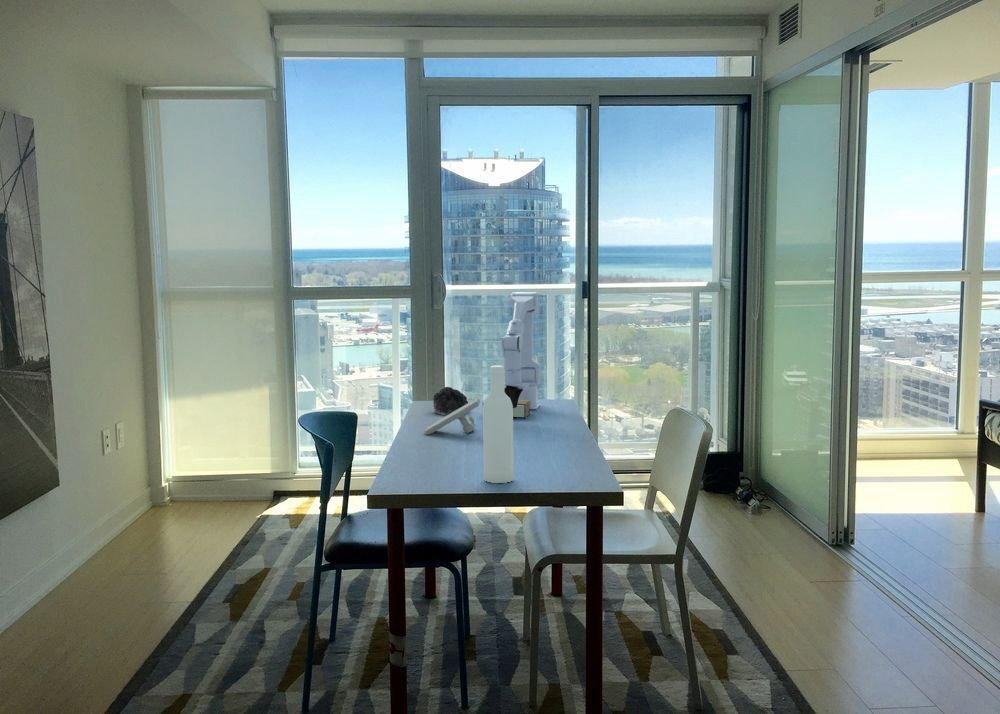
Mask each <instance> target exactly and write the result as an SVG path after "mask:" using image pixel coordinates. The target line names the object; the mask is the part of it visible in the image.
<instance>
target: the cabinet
mask: <svg viewBox="0 0 1000 714" xmlns="http://www.w3.org/2000/svg"><path fill="white" fill-rule="evenodd" d="M483 404H484V401H483V402H482V405H483ZM517 405H524V406H526V411H524V412H526V415H527V416H528V415H529V414H531V413H530V412H531V409H530V400H518V403H517ZM528 417H529V416H528Z"/></svg>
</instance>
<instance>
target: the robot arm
mask: <svg viewBox="0 0 1000 714" xmlns="http://www.w3.org/2000/svg"><path fill="white" fill-rule="evenodd" d="M509 299H510V300H509V301H510V307H511V308H512V310H513V316H512V319H511V320H510V321H509V322H508V326H507V328H506V329H507V330H506V332H505V333H506V334H505V335H504V336H503V337H502V340H501V348H502V356H503V359H504V361H503V362H504V365H503V367H504V371H505V373H504V393H505V394H506V395H507V396H508V397H509V398H510V400H511V402H512V405H513V408H516V407H517V403H518V400H530V410H538V408H539V407H540V406H541V403H538V384H540V383H541V379H542V369H541V364H540V362H539V361H537V360H536V359H535V358H534V318H535V315H537V314H539V310H540V296H539V293H538V292H537V291H532V292H531V291H530V292H529V291H527V292H526V291H525V292H524V291H522V292H521V291H519V292H517V291H512V293H511V294H510V298H509Z"/></svg>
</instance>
